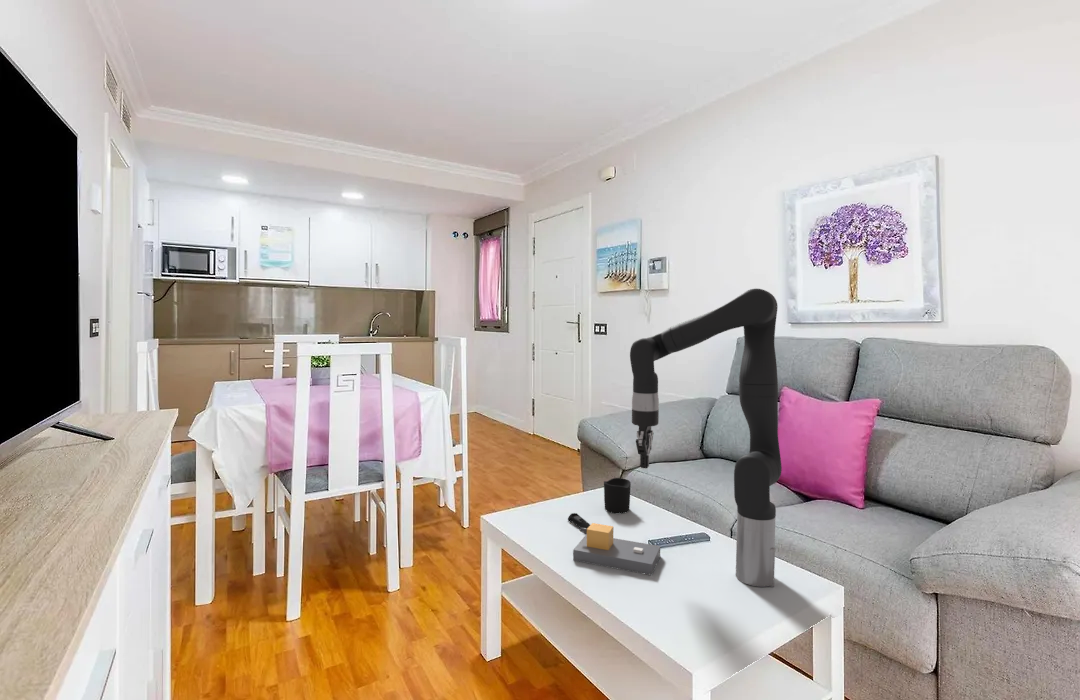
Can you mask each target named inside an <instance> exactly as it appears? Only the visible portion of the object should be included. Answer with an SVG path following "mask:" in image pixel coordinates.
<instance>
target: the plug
mask: <svg viewBox="0 0 1080 700" xmlns="http://www.w3.org/2000/svg"><path fill="white" fill-rule="evenodd" d="M579 532H580V533H586V534H587V547H593V548H598V549H604V550H609V549H610V547H611V546H612V545H613V538H614V526H613V525H607V524H600V523H596V522H592V523H590V526H589V527H588V528H580V529H579Z"/></svg>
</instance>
